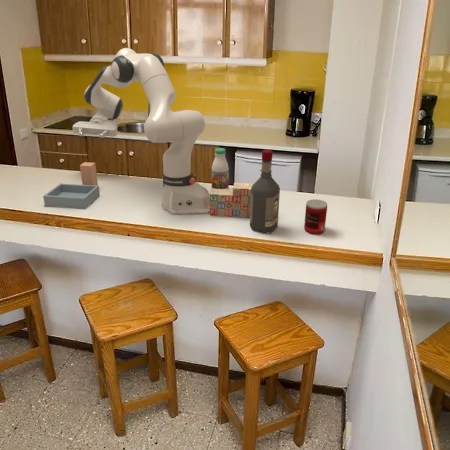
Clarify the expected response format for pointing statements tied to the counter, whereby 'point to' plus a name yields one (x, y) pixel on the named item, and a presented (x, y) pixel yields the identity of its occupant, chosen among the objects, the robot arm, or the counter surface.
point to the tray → (71, 196)
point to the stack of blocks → (231, 201)
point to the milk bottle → (220, 170)
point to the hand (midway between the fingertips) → (90, 135)
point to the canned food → (315, 216)
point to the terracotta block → (88, 174)
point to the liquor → (265, 198)
